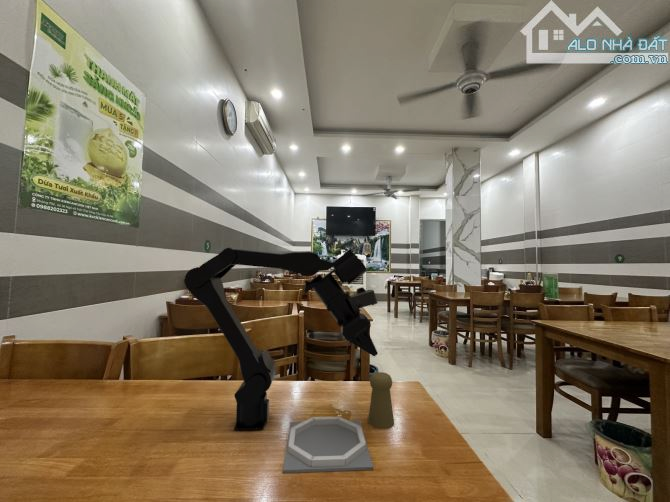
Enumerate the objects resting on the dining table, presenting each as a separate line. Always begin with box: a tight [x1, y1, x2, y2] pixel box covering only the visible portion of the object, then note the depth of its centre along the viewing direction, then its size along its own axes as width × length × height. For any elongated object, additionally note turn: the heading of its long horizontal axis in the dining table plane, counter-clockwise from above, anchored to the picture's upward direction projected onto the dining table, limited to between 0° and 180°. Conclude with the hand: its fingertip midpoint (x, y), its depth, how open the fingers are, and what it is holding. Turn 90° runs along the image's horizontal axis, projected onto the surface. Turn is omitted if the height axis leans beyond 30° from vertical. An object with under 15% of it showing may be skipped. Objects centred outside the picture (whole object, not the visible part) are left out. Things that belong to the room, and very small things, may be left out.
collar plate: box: [282, 416, 374, 474], centre depth 60 cm, size 16×16×2 cm
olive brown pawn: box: [367, 371, 395, 430], centre depth 69 cm, size 6×6×11 cm
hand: (372, 349), depth 70 cm, fingers open, 9 cm apart
